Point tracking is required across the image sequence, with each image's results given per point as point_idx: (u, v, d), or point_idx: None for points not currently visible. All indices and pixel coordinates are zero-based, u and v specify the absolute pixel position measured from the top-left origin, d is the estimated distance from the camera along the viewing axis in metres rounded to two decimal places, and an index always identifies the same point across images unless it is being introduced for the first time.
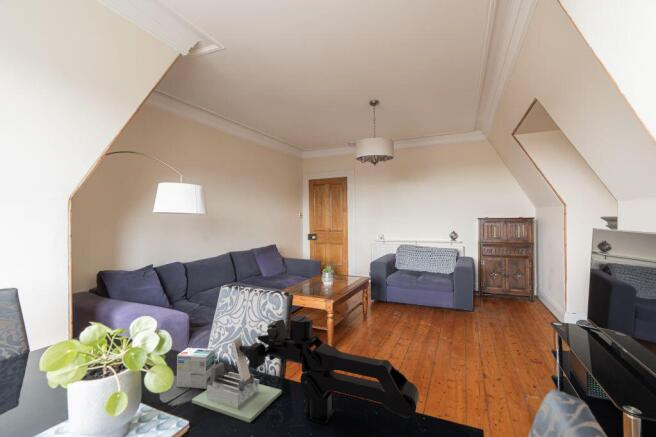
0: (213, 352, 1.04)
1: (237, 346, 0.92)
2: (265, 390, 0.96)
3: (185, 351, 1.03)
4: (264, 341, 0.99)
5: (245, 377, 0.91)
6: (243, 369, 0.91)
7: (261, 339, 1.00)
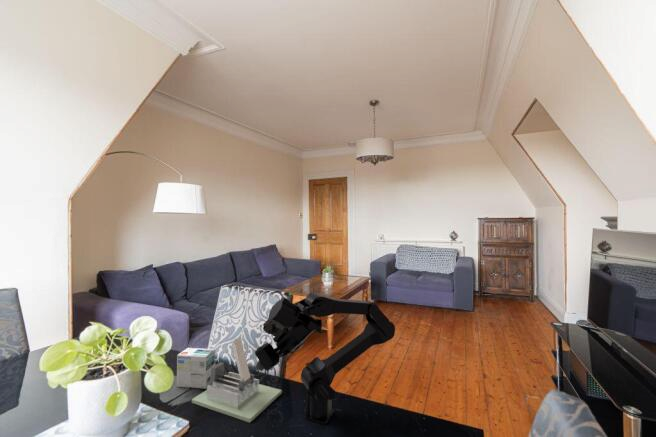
0: (213, 352, 1.04)
1: (237, 346, 0.92)
2: (265, 390, 0.96)
3: (185, 351, 1.03)
4: None
5: (245, 377, 0.91)
6: (243, 369, 0.91)
7: None
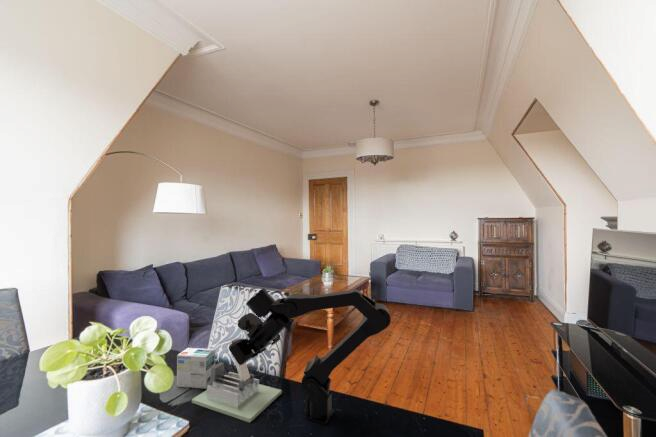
0: (213, 352, 1.04)
1: None
2: (265, 390, 0.96)
3: (185, 351, 1.03)
4: None
5: (244, 377, 0.91)
6: (242, 369, 0.91)
7: None
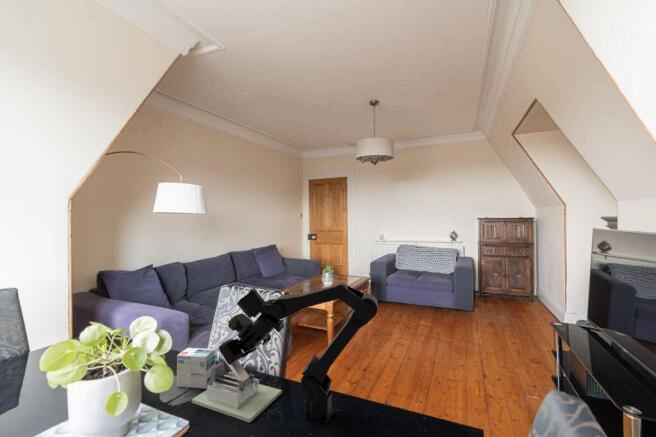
0: (213, 352, 1.04)
1: None
2: (265, 390, 0.96)
3: (185, 351, 1.03)
4: None
5: (243, 377, 0.91)
6: (239, 370, 0.92)
7: None
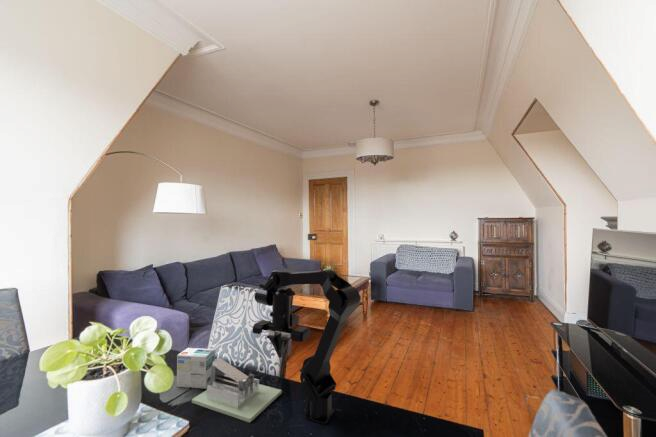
0: (213, 352, 1.04)
1: (219, 363, 0.95)
2: (265, 390, 0.96)
3: (185, 351, 1.03)
4: None
5: (241, 378, 0.91)
6: (236, 374, 0.92)
7: None
